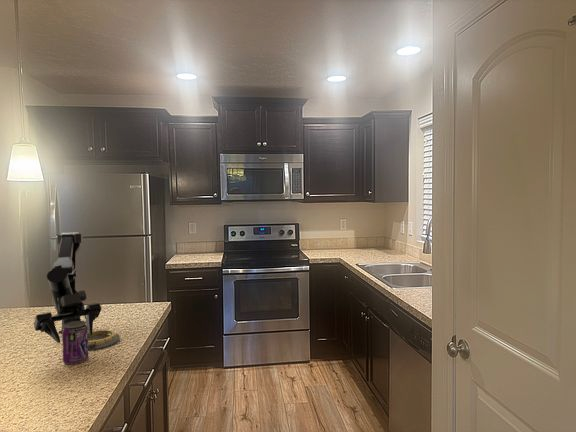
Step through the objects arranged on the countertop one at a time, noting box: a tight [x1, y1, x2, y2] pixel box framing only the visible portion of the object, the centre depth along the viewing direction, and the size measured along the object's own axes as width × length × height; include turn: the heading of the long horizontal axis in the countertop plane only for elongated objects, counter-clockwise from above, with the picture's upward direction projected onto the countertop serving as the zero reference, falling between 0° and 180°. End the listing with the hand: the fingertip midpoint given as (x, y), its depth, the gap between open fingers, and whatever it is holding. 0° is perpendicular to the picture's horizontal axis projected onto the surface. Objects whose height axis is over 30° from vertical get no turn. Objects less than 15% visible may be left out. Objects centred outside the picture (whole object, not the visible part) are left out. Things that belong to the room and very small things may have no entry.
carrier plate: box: [88, 329, 120, 352], centre depth 138 cm, size 15×15×2 cm
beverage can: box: [61, 320, 90, 365], centre depth 122 cm, size 7×7×12 cm
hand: (75, 338), depth 122 cm, fingers open, 9 cm apart
